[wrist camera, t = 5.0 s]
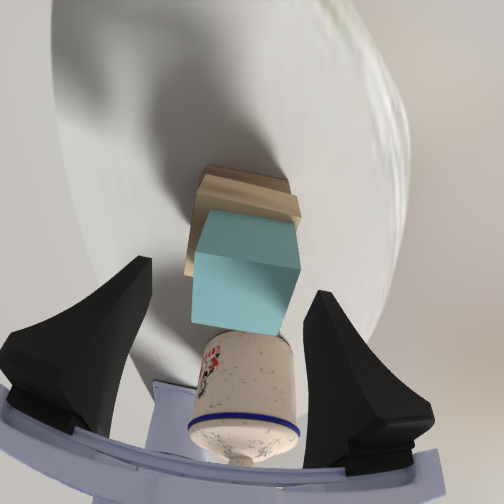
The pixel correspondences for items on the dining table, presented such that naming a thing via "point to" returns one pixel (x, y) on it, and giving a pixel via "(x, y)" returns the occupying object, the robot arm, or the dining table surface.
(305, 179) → the dining table surface
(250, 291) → the teal block
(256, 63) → the dining table surface
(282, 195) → the oak slab upper
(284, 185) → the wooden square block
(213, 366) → the ceramic jar
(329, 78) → the dining table surface
